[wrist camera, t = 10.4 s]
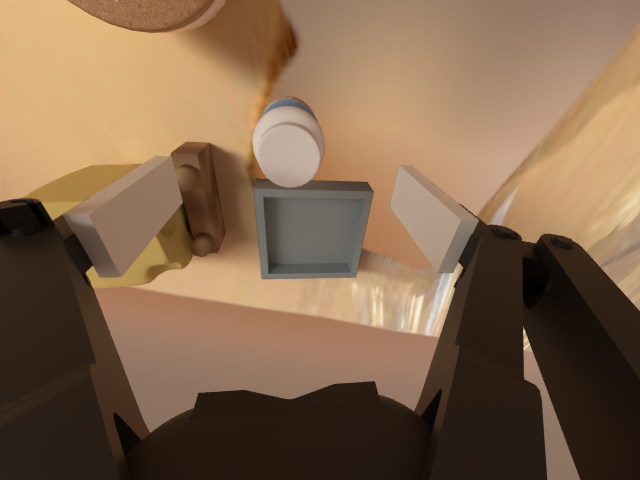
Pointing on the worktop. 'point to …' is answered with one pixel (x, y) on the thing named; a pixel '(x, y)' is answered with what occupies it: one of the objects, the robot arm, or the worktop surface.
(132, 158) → the worktop surface
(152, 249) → the cheese
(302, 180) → the pill bottle
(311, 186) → the tray
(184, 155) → the stop rail
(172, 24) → the lidded bowl
